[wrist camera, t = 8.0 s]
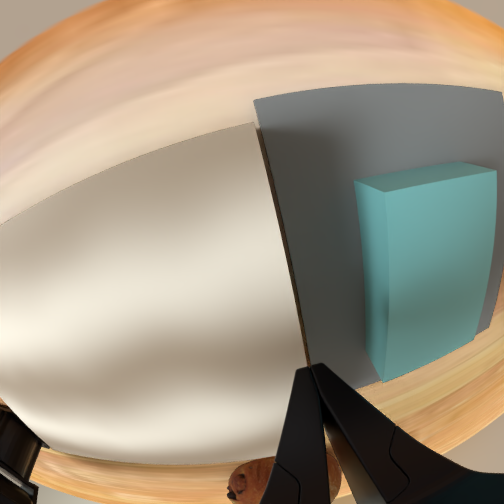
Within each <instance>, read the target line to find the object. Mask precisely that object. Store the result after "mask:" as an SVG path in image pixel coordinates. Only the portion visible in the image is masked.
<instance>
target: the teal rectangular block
mask: <svg viewBox="0 0 504 504" xmlns="http://www.w3.org/2000/svg"><path fill="white" fill-rule="evenodd" d="M354 187H355V194H356V201H357V208H358V216H359V225H360V234H361V245H362V257H363V270H364V288H365V321H366V347H365V351H366V353H367V354H368V356H369V358H370V360H371V362H372V364H373V365H374V367H375V369H376V371H377V373H378V375H379V377H380V379H381V381H382V382H383V383H384V382H387V381H389V380H392V379H394V378H397V377H399V376H402V375H404V374H406V373H409V372H411V371H413V370H415V369H418V368H420V367H422V366H424V365H426V364H428V363H431V362H433V361H435V360H437V359H439V358H441V357H443V356H445V355H447V354H449V353H450V352H452V351H454V350H456V349H458V348H460V347H462V346H463V345H465V344H467V343H469V342H470V341H472V340H474V337H475V334H476V330H477V327H478V323H479V319H480V316H481V312H482V308H483V304H484V299H485V295H486V290H487V285H488V280H489V274H490V268H491V261H492V254H493V246H494V237H495V225H496V208H497V171H496V170H493V169H489V168H485V167H481V166H477V165H473V164H469V163H464V162H453V163H446V164H440V165H433V166H427V167H421V168H415V169H409V170H404V171H398V172H393V173H387V174H382V175H377V176H371V177H366V178H361V179H356V180H354Z"/></svg>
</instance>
